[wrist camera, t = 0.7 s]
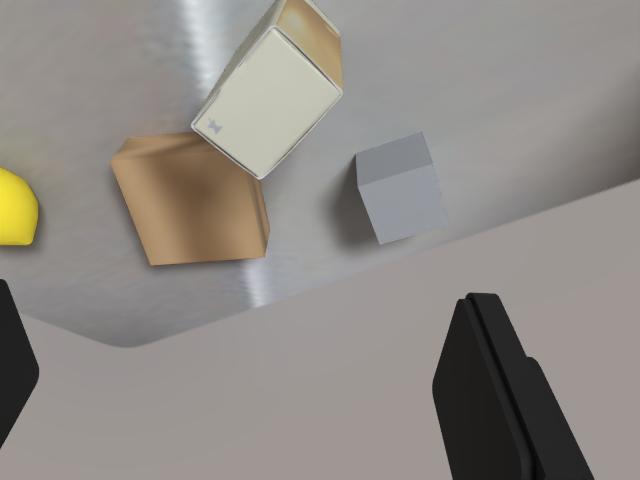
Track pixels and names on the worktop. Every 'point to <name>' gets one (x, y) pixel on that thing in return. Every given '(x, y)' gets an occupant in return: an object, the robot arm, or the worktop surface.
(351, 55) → the worktop surface
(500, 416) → the robot arm
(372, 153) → the grey block
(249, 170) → the skincare box
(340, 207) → the worktop surface
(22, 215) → the lemon
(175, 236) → the oak block
